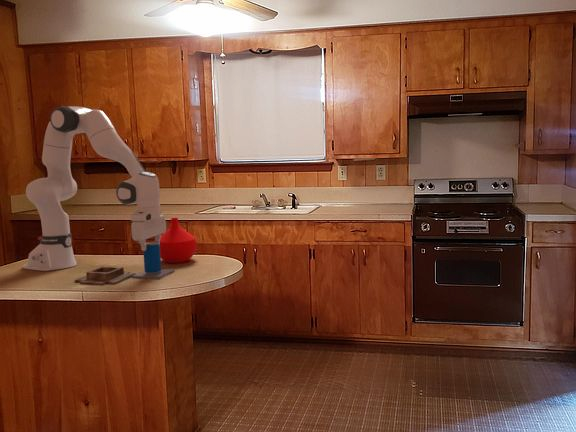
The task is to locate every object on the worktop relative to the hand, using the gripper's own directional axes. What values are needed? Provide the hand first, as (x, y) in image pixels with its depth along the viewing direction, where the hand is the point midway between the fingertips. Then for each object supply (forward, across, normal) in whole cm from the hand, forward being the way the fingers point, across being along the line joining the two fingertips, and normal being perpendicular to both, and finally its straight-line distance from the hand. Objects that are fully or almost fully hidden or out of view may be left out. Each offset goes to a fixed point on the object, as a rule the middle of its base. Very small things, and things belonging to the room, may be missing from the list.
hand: (150, 248), depth 224 cm
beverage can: (+10, 0, 0) cm, 10 cm away
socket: (+11, +9, -15) cm, 21 cm away
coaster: (+11, 0, +1) cm, 11 cm away
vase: (+11, -25, -2) cm, 28 cm away
